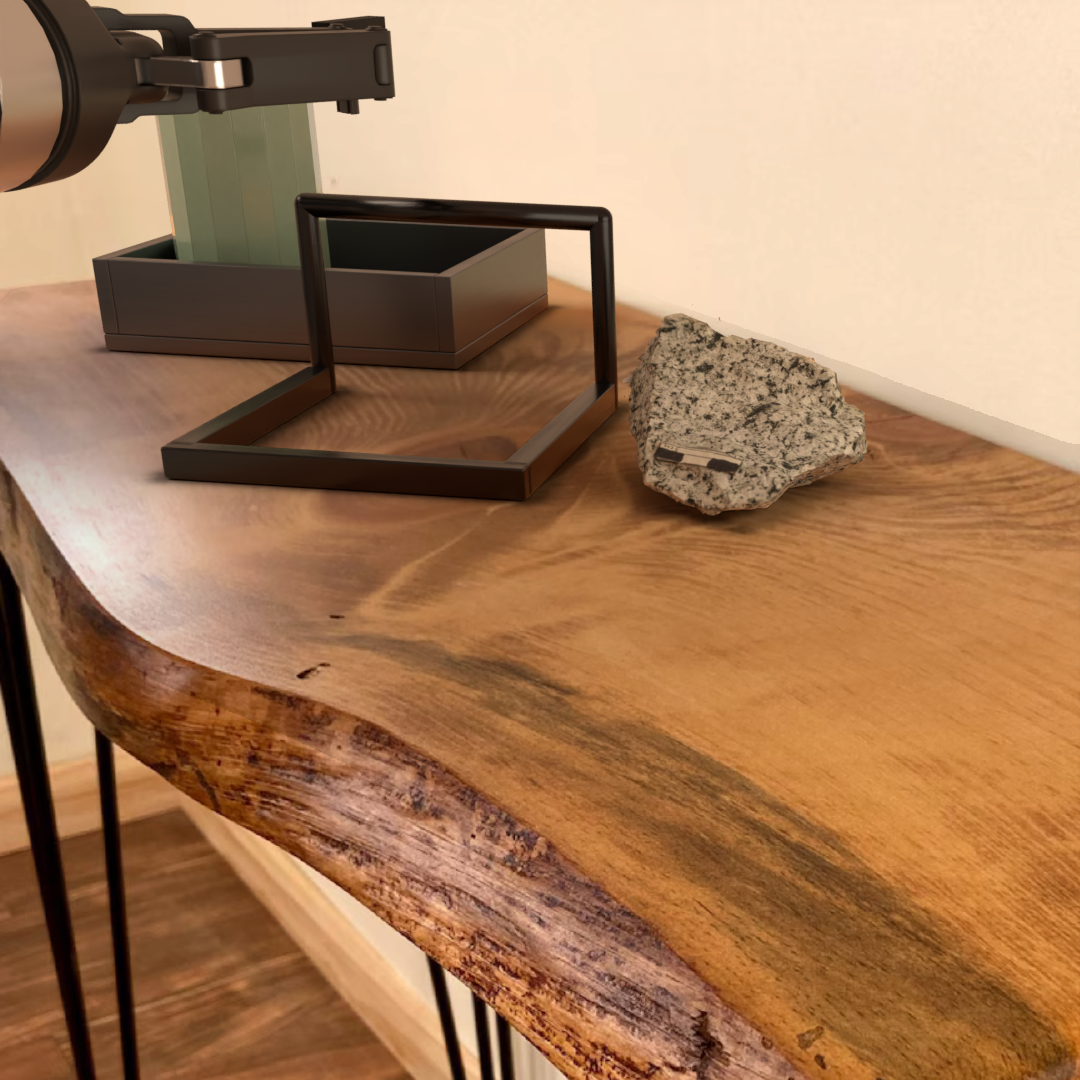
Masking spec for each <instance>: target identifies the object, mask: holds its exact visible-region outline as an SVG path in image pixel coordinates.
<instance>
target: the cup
mask: <svg viewBox="0 0 1080 1080" xmlns="http://www.w3.org/2000/svg"><path fill="white" fill-rule="evenodd" d="M167 93H168V92H167ZM166 95H167V94H166ZM314 107H315V106H314V103H302V104H287V105H273V106H258V107H249V108H243V109H236V110H229V111H225V112H223V114H209V112H202V110H199V111H198V112H197V113H194V114H180V115H154V118H155V119H154V120H155V126H156V132H157V139H158V146H159V154H160V161H161V167H162V174H163V179H164V180H163V181H164V187H165V194H166V200H167V208H168V213H169V220H170V221H169V223H170V229H171V233H172V235H173V242H174V249H175V256H176V260H186V261H205V262H225V263H244V264H264V265H284V266H301V265H300V256H299V247H298V238H297V228H296V219H295V210H294V200H295V198H296V196H297V195H299V194H300V193H324V190H323V181H322V173H321V162H320V154H319V143H318V136H317V126H316V117H315V108H314ZM319 219H320V229H321V239H322V248H323V258H324V268H331V263H330V254H329V245H328V236H327V226H326V218H319Z"/></svg>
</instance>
